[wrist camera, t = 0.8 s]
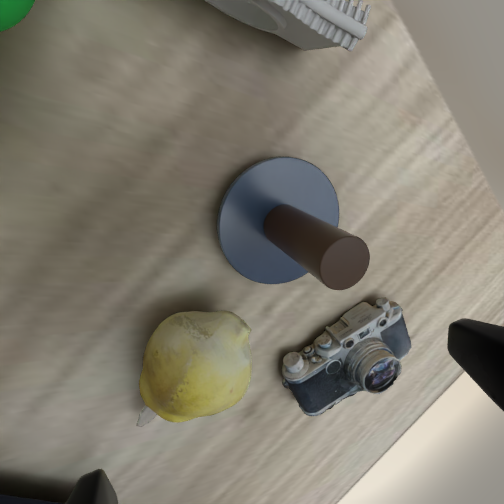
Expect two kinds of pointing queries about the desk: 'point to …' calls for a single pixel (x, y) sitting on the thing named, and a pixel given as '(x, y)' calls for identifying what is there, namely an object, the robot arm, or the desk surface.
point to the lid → (288, 226)
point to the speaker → (21, 500)
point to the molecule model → (13, 12)
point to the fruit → (195, 366)
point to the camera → (349, 357)
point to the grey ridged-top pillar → (302, 20)
